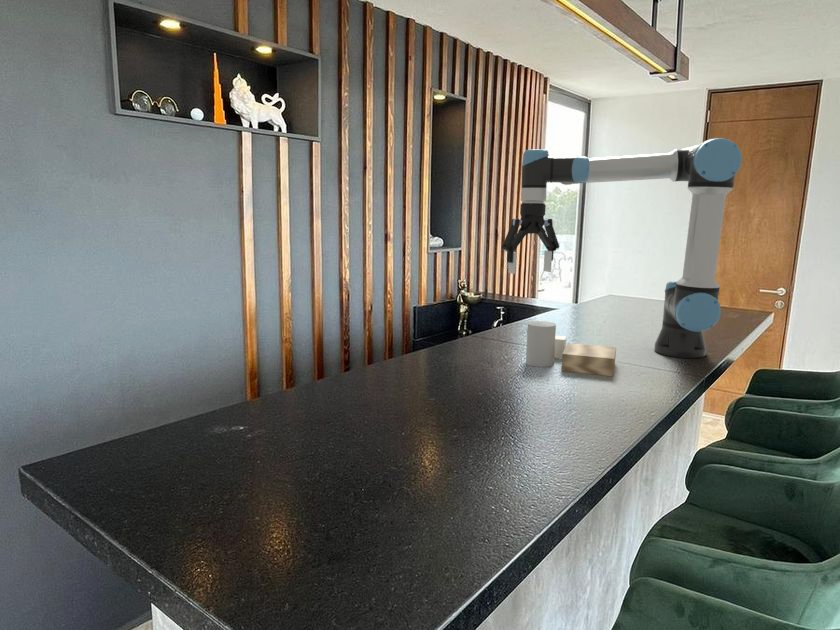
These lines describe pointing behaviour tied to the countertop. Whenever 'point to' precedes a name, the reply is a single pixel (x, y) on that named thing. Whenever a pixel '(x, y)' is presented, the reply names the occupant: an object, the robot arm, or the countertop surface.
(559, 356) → the cream block
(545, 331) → the grey cylinder
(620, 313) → the countertop surface
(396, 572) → the countertop surface
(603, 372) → the oak block
